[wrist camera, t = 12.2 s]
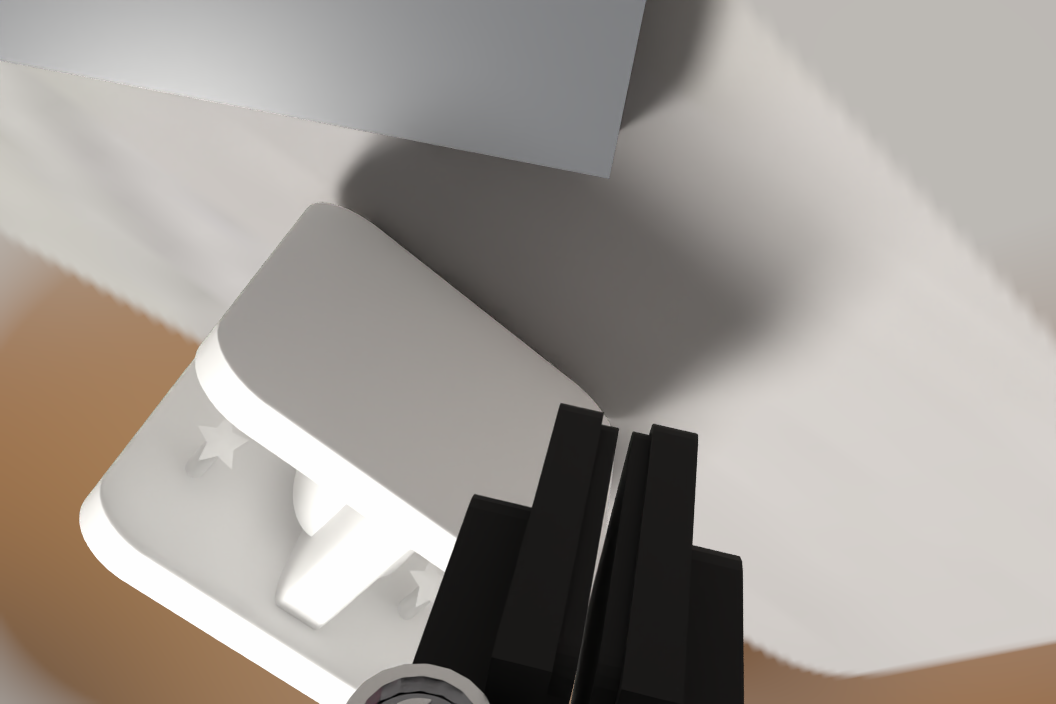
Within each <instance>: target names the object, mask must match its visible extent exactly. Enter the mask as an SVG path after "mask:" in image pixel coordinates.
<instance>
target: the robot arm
mask: <svg viewBox="0 0 1056 704" xmlns="http://www.w3.org/2000/svg"><path fill="white" fill-rule="evenodd" d="M603 416H604V412H599V411H595V410H590V409H586V408H582V407H577V406H573V405H568V404H564V403H560V406H559V409H558V413H557V416H556V420H555V424H554V427H553V431H552V435H551V439H550V442H549V446H548V450H547V453H546V457H545V461H544V464H543V468H542V472H541V475H540V479H539V483H538V486H537V490H536V494H535V497H534V501H533V505H532V507H528V506H524V505H520V504H515V503H511V502H507V501H503V500H498V499H494V498H490V497H486V496H481V495H477V494H474V495H473V496H472V498H471V501H470V503H469V506H468V508H467V511H466V514H465V517H464V520H463V523H462V525H461V528H460V531H459V534H458V537H457V539H456V542H455V545H454V548H453V551H452V553H451V556H450V559H449V562H448V565H447V567H446V570H445V573H444V576H443V579H442V581H441V584H440V587H439V590H438V593H437V595H436V598H435V601H434V604H433V607H432V610H431V612H430V615H429V618H428V621H427V624H426V626H425V629H424V632H423V635H422V638H421V640H420V643H419V646H418V649H417V652H416V654H415V657H414V660H413V663H412V664H403V665H400V666H396V667H393V668H389V669H385V670H382V671H381V672H379V673H377V674H376V675H374V676H373V677H371V678H369V679H368V680H366V681H364V682H363V683H362V684H361V686H360V687H359V688H358V689H357V690H356V691H355V692H354V694H353V695H352V696H351V697H350V698H349V700H348V701H347V703H346V704H569V701H570V697H571V692H572V689H573V684H574V689H573V695H572V700H571V704H744V663H743V568H742V560H741V558H740V556H736V555H732V554H728V553H723V552H719V551H715V550H711V549H706V548H702V547H698V546H694V545H692V541H693V523H694V505H695V487H696V469H697V451H698V434H696V433H692V432H687V431H683V430H678V429H674V428H670V427H665V426H661V425H656V424H653V425H652V427H651V430H650V433H649V435H646V434H642V433H637V432H633V433H632V436H631V439H630V443H629V447H628V451H627V455H626V459H625V463H624V467H623V470H622V474H621V478H620V482H619V486H618V490H617V494H616V498H615V502H614V506H613V509H612V513H611V517H610V521H609V525H608V529H607V533H606V537H605V541H604V545H603V548H602V552H601V556H600V560H599V564H598V568H597V572H596V576H595V580H594V584H593V588H592V592H591V587H592V581H593V575H594V570H595V564H596V558H597V552H598V547H599V541H600V535H601V529H602V524H603V518H604V512H605V506H606V501H607V495H608V489H609V483H610V478H611V472H612V466H613V460H614V455H615V449H616V443H617V437H618V431H619V428H615V427H611V426H607V425H602V421H603ZM590 593H591V596H590ZM589 599H590V600H589ZM588 604H589V605H588ZM575 675H576V677H575ZM574 680H575V683H574Z"/></svg>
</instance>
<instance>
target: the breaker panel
mask: <svg viewBox="0 0 1056 704" xmlns="http://www.w3.org/2000/svg"><path fill="white" fill-rule="evenodd" d="M645 3H646V0H0V61H4V62H10V63H15V64H20V65H25V66H30V67H35V68H40V69H46V70H51V71H56V72H61V73H66V74H71V75H77V76H82V77H87V78H92V79H97V80H102V81H108V82H113V83H118V84H123V85H128V86H133V87H138V88H144V89H149V90H154V91H159V92H164V93H169V94H175V95H180V96H185V97H190V98H195V99H200V100H205V101H211V102H216V103H221V104H226V105H231V106H236V107H242V108H247V109H252V110H257V111H262V112H267V113H273V114H278V115H283V116H288V117H293V118H298V119H303V120H309V121H314V122H319V123H324V124H329V125H334V126H340V127H345V128H350V129H355V130H360V131H365V132H371V133H376V134H381V135H386V136H391V137H396V138H401V139H407V140H412V141H417V142H422V143H427V144H432V145H438V146H443V147H448V148H453V149H458V150H463V151H468V152H474V153H479V154H484V155H489V156H494V157H499V158H505V159H510V160H515V161H520V162H525V163H530V164H536V165H541V166H546V167H551V168H556V169H561V170H566V171H572V172H577V173H582V174H587V175H592V176H597V177H603V178H608V179H609V178H610V173H611V168H612V163H613V158H614V153H615V148H616V144H617V139H618V134H619V129H620V124H621V119H622V115H623V110H624V105H625V100H626V95H627V90H628V85H629V81H630V76H631V71H632V66H633V61H634V56H635V52H636V47H637V42H638V37H639V32H640V27H641V23H642V18H643V13H644V8H645Z"/></svg>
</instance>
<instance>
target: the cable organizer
mask: <svg viewBox="0 0 1056 704" xmlns="http://www.w3.org/2000/svg"><path fill="white" fill-rule="evenodd" d="M560 403H564V404H568V405H573V406H577V407H582V408H586V409H590V410H595V411H599V412H602V411H601V409H600V408H599V407H598V405H597V404H596V403H595V402H594V401H593V400H592V398H591V397H590V396H589V395H588V394H587V393H586V392H585V391H584V390H583V389H582V388H580V387H579V386H578V385H577V384H576V383H574V382H573V381H572V380H571V379H569V378H568V377H567V376H566V375H564V374H563V373H562V372H561V371H559V370H558V369H557V368H555V367H554V366H553V365H552V364H550V363H549V362H548V361H547V360H545V359H544V358H543V357H542V356H540V355H539V354H538V353H536V352H535V351H534V350H533V349H531V348H530V347H529V346H528V345H526V344H525V343H524V342H522V341H521V340H520V339H519V338H517V337H516V336H515V335H514V334H512V333H511V332H510V331H509V330H507V329H506V328H505V327H503V326H502V325H501V324H500V323H498V322H497V321H496V320H495V319H493V318H492V317H491V316H489V315H488V314H487V313H486V312H484V311H483V310H482V309H481V308H479V307H478V306H477V305H476V304H474V303H473V302H472V301H470V300H469V299H468V298H467V297H465V296H464V295H463V294H462V293H460V292H459V291H458V290H456V289H455V288H454V287H453V286H451V285H450V284H449V283H448V282H446V281H445V280H444V279H443V278H441V277H440V276H439V275H437V274H436V273H435V272H434V271H432V270H431V269H430V268H429V267H427V266H426V265H425V264H424V263H422V262H421V261H420V260H418V259H417V258H416V257H415V256H413V255H412V254H411V253H410V252H408V251H407V250H406V249H404V248H403V247H402V246H401V245H399V244H398V243H397V242H396V241H394V240H393V239H392V238H391V237H389V236H388V235H387V234H385V233H384V232H383V231H382V230H380V229H379V228H378V227H377V226H375V225H374V224H373V223H371V222H370V221H368V220H367V219H365V218H363V217H362V216H360V215H359V214H357V213H355V212H353V211H351V210H349V209H347V208H344V207H341V206H339V205H335V204H331V203H323V202H321V203H315V204H312V205H310V206H309V207H308V208H307V209H306V210H305V212H304V213H303V214H302V215H301V217H300V218H299V219H298V220H297V222H296V223H295V224H294V226H293V227H292V228H291V229H290V231H289V232H288V233H287V234H286V236H285V237H284V238H283V240H282V241H281V242H280V243H279V245H278V246H277V247H276V249H275V250H274V251H273V252H272V254H271V255H270V256H269V258H268V259H267V260H266V261H265V263H264V264H263V265H262V267H261V268H260V269H259V270H258V272H257V273H256V274H255V276H254V277H253V278H252V279H251V281H250V282H249V283H248V285H247V286H246V287H245V288H244V290H243V291H242V292H241V294H240V295H239V296H238V297H237V299H236V300H235V301H234V303H233V304H232V305H231V306H230V308H229V309H228V310H227V311H226V313H225V314H224V315H223V317H222V318H221V319H220V320H219V322H218V323H217V324H216V326H215V327H214V328H213V329H212V331H211V332H210V333H209V335H208V336H207V337H206V338H205V340H204V341H203V342H202V344H201V345H200V346H199V348H198V350H197V352H196V357H195V358H194V360H193V361H192V362H191V364H190V365H189V366H188V367H187V369H186V370H185V371H184V372H183V374H182V375H181V376H180V377H179V379H178V380H177V381H176V383H175V384H174V385H173V387H172V388H171V389H170V390H169V392H168V393H167V394H166V396H165V397H164V398H163V399H162V401H161V402H160V403H159V405H158V406H157V407H156V409H155V410H154V411H153V412H152V414H151V415H150V416H149V418H148V419H147V420H146V421H145V423H144V424H143V425H142V427H141V428H140V429H139V431H138V432H137V433H136V435H135V436H134V437H133V438H132V440H131V441H130V442H129V444H128V445H127V446H126V447H125V449H124V450H123V452H122V453H121V454H120V455H119V456H118V458H117V459H116V460H115V462H114V463H113V464H112V465H111V467H110V468H109V469H108V471H107V472H106V473H105V475H104V476H103V477H102V478H101V480H100V481H99V482H98V484H97V485H96V486H95V488H94V489H93V490H92V491H91V493H90V494H89V495H88V497H87V498H86V499H85V501H84V503H83V504H82V507H81V510H80V526H81V531H82V534H83V537H84V539H85V541H86V543H87V545H88V546H89V548H90V550H91V551H92V552H93V554H94V555H95V556H96V558H97V559H98V560H99V561H100V562H101V563H102V564H103V565H104V566H105V567H106V568H107V569H108V570H109V571H111V572H112V573H113V574H114V575H116V576H117V577H118V578H120V579H121V580H123V581H124V582H126V583H128V584H129V585H131V586H132V587H134V588H136V589H137V590H139V591H140V592H142V593H144V594H145V595H147V596H149V597H150V598H152V599H153V600H155V601H157V602H158V603H160V604H161V605H163V606H165V607H166V608H168V609H170V610H171V611H173V612H174V613H176V614H177V615H179V616H181V617H182V618H184V619H186V620H187V621H189V622H190V623H192V624H193V625H195V626H197V627H198V628H200V629H202V630H203V631H205V632H206V633H208V634H210V635H211V636H213V637H214V638H216V639H217V640H219V641H221V642H222V643H224V644H226V645H227V646H229V647H230V648H232V649H234V650H235V651H237V652H238V653H240V654H241V655H243V656H245V657H246V658H248V659H250V660H251V661H253V662H254V663H256V664H258V665H260V666H261V667H262V668H264V669H266V670H267V671H269V672H270V673H272V674H274V675H275V676H277V677H279V678H280V679H282V680H283V681H285V682H286V683H288V684H290V685H291V686H293V687H294V688H296V689H298V690H299V691H301V692H302V693H304V694H306V695H307V696H309V697H310V698H312V699H314V700H315V701H317V702H318V703H320V704H346V703H347V701H348V700H349V698H350V697H351V696H352V695H353V694H354V692H355V691H356V690H357V689H358V688H359V687H360V686H361V684H362V683H363V682H364V681H366V680H368V679H369V678H371V677H373V676H374V675H376V674H377V673H379V672H381V671H382V670H385V669H389V668H393V667H396V666H400V665H403V664H412V663H413V660H414V657H415V654H416V652H417V649H418V646H419V643H420V640H421V638H422V635H423V632H424V629H425V626H426V624H427V621H428V618H429V615H430V612H431V610H432V607H433V604H434V601H435V598H436V595H437V593H438V590H439V587H440V584H441V581H442V579H443V576H444V573H445V570H446V567H447V565H448V562H449V559H450V556H451V553H452V551H453V548H454V545H455V542H456V539H457V537H458V534H459V531H460V528H461V525H462V523H463V520H464V517H465V514H466V511H467V508H468V506H469V503H470V501H471V498H472V496H473V495H474V494H477V495H481V496H486V497H490V498H494V499H498V500H503V501H507V502H511V503H515V504H520V505H524V506H528V507H532V505H533V501H534V497H535V494H536V490H537V486H538V483H539V479H540V475H541V472H542V468H543V464H544V461H545V457H546V453H547V450H548V446H549V442H550V439H551V435H552V431H553V427H554V424H555V420H556V416H557V413H558V409H559V406H560ZM602 425H607V426H610V424H609V422H608V420H607V418H606V417H605V415H604V416H603V421H602ZM613 463H614V460H613ZM612 473H613V466H612V472H611V478H610V483H609V489H608V495H607V501H606V506H605V512H604V518H603V524H602V529H601V535H600V541H599V547H598V552H597V558H596V564H595V570H594V575H593V581H592V587H591V592H592V588H593V584H594V580H595V576H596V572H597V568H598V564H599V560H600V556H601V552H602V548H603V545H604V541H605V537H606V528H607V519H608V510H609V501H610V491H611V482H612ZM590 596H591V593H590ZM589 600H590V599H589ZM588 605H589V604H588Z"/></svg>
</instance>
